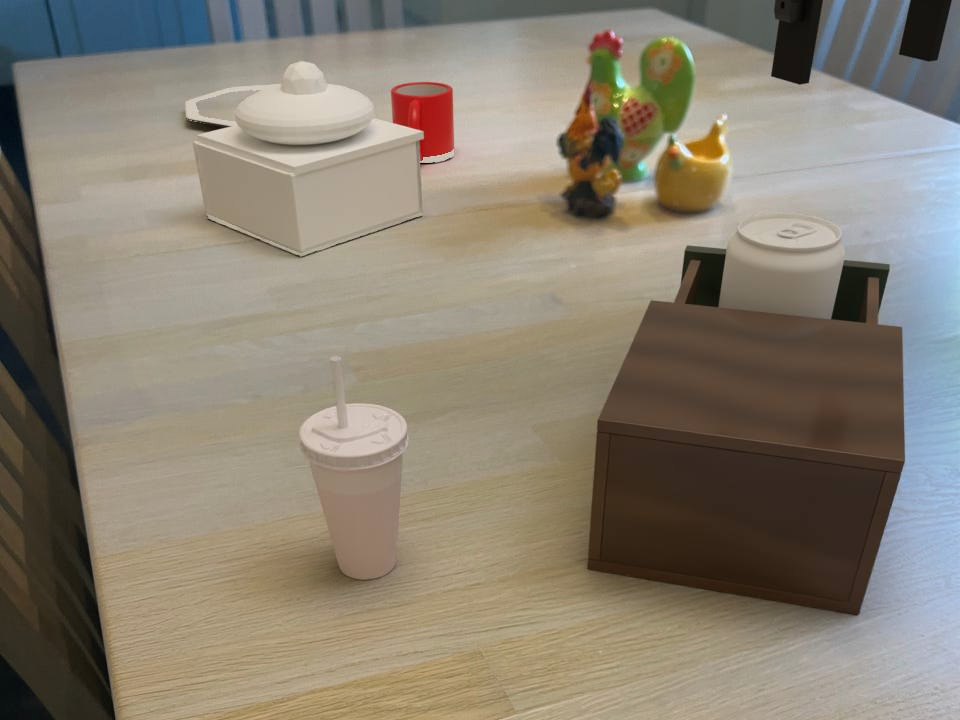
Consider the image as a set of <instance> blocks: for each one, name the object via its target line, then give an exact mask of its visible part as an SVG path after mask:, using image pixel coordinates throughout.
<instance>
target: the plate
mask: <svg viewBox="0 0 960 720" xmlns="http://www.w3.org/2000/svg"><path fill="white" fill-rule="evenodd" d="M279 85H281V83H273V84H257V85H256V84H255V85H242V86H241V85H240V86H232V87H226V88H222V89H219V90H216V91H213V92H210V93H207V94H203V95H200V96H197V97H193V98H190V99H187V100H186V101H185V102H184V110H185V118H186V120H187V119H188V120H187V121H189V120H192V121H197V122H201V123H200V124H202V123H205V124H204V125H208V124H210V125H209V126H214V125H215V126H216V127H219V128H227V127H231V126H235V125H237V123H236V122H235V121H228V120H221V119H215V118H208V117H204V116H201V115H199V113H198V112H199V110H198V109H197V106H196V102H198V101H200V100H204V99H208V98H212V97H216V96H217V95H218V96H219V95H221V94H225V93H229V92H234V91H235V92H238V91H246V90H247V91H249V90H253V91H256V90H264V89H267V88H271V87H275V86H279ZM215 126H214V127H215Z"/></svg>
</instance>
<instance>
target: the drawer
mask: <svg viewBox="0 0 960 720" xmlns="http://www.w3.org/2000/svg"><path fill="white" fill-rule="evenodd" d="M726 251H727V248H721V247H709V246H700V245H699V246H698V245H686V246H685V249H684V253H683V259H682V260H683V261H682V269H681V278H680V285H679V289H678V291H677V293H676V296H675V299H674V301H673V303H682V304H691V305H701V306H710V307H718V306H719V299H720V292H721V285H722V278H723V272H724V265H725V258H726ZM890 268H891V267H890V264H889V263H882V262H871V261H861V260H850V259H844V263H843V267H842V272H841V276H840V281H839V285H838V290H837V294H836V299H835V303H834V308H833V312H832V317H831V319H832V320H842V321H851V322H861V323H870V324H879V313H880V309H881V306H882V301H883V299H884V295H885V294H884V293H885V290H886V286H887V283H888V278H889V274H890V271H891V270H890Z"/></svg>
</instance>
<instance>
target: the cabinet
mask: <svg viewBox="0 0 960 720" xmlns="http://www.w3.org/2000/svg"><path fill="white" fill-rule="evenodd" d="M903 337H904V336H903V326H897V325H890V324H889V325H887V324H879V323H878V324H870V323H861V322H851V321H842V320H832V319H823V318H814V317H804V316H795V315H785V314H776V313H766V312H757V311H748V310H738V309H729V308H719V307H710V306H701V305H691V304H682V303H674V302H671V301H662V300H650V301H649V303H648V305H647V308H646V310H645V312H644V315H643V317H642V319H641V321H640V324H639V326H638V329H637V330H636V333H635V335H634V337H633V339H632V342H631V343H630V346H629V348H628V351H627V353H626V355H625V357H624V359H623V361H622V364H621V366H620V369H619V371H618V373H617V375H616V377H615V379H614V382H613V384H612V387H611V389H610V391H609V394H608V396H607V398H606V400H605V402H604V404H603V407H602V409H601V411H600V414H599V415H598V417H597V423H596V436H595V451H594V466H593V477H592V478H593V480H592V493H591V508H590V509H591V510H590V523H589V537H588V549H587V564H586V568H587V569H588V570H592V571H598V572H604V573H610V574H615V575H622V576H628V577H633V578H638V579H639V578H640V579H645V580H652V581H657V582H664V583H669V584H673V585H674V584H675V585H681V586H686V587H693V588H697V589H703V590H710V591H716V592H720V593H721V592H722V593H727V594H732V595H740V596H744V597H745V596H746V597H751V598H757V599H763V600H769V601H775V602H781V603H787V604H792V605H797V606H798V605H799V606H802V607H803V606H804V607H810V608H816V609H821V610H828V611H832V612H833V611H834V612H839V613H845V614H851V615H857V616H858V615H860V613H861V609H862V606H863V602H864V599H865V595H866V593H867V589H868V586H869V583H870V579H871V576H872V573H873V571H874V566H875V563H876V559H877V556H878V554H879V549H880V546H881V543H882V539H883V536H884V532H885V530H886V527H887V522H888V520H889V516H890V513H891V510H892V505H893V503H894V499H895V496H896V493H897V490H898V487H899V483H900V480H901V476H902V472H903V470H904V466H905V464H906V445H905V444H906V443H905V442H906V440H905V439H906V438H905V393H904V391H905V389H904V342H903V341H904V338H903Z"/></svg>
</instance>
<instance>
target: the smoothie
mask: <svg viewBox="0 0 960 720" xmlns="http://www.w3.org/2000/svg"><path fill="white" fill-rule="evenodd" d="M330 366H331V373H332V374H331V375H332V383H333V391H334V399H335V400H334V401H335V405H334V406H331V407H327V408H324V409H322V410H319V411H317V412H315V413H314V414H312V415H310V416H309V417H308V418H307V419H305V420H304V422H303V423H302V424H301V426H300V428H299V431H298V435H299V436H298V437H299V448H300V453H301V454H302V455H303V457H304V458H305V459H306V460H307V461H308V463H309V468H310V470H311V474H312V478H313V480H314V484H315V487H316V491H317V495H318V499H319V501H320V505H321V508H322V512H323V516H324V519H325V522H326V523H325V524H326V526H327V529H328V533H329V537H330V540H331V544H332V547H333V551H334V555H335V557H336V561H337V565H338V568H339V570H340V572H341V573H343V575H345V576H346V577H349V578H351V579H354V580H361V581H363V580H365V581H366V580H375V579H378V578H381V577H384V576H385V575H387V574H389V573H390V572H391V571H393V569H394V568H395V567H396V565H397V552H398V539H399V538H398V537H399V523H400V508H401V507H400V506H401V491H402V474H403V461H404V452H405V451H406V450H407V449H408V447H409V442H410V437H409V433H408V424H407V422H406V420H405V418H404V417H403V416H402V415H401V414H400V413H399V412H397V411H395V410H394V409H391V408H389V407H387V406H384V405H378V404H374V403H364V402H363V403H362V402H361V403H360V402H358V403H356V402H355V403H354V402H353V403H346V394H345V386H344V377H343V367H342V358H341V357H340V356H338V355H336V356H335V355H334V356H331V357H330Z"/></svg>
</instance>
